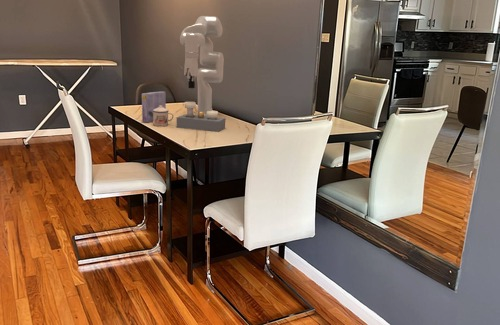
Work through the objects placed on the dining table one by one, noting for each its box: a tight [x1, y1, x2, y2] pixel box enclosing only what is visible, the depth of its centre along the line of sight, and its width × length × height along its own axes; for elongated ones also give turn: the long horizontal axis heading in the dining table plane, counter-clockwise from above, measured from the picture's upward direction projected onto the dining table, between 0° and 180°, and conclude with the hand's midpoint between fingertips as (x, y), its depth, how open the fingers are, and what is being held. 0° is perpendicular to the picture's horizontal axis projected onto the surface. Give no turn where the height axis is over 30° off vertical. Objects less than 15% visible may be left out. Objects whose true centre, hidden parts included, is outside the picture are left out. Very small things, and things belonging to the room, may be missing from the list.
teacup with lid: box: [153, 105, 174, 127], centre depth 274 cm, size 12×9×12 cm
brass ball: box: [197, 111, 204, 118], centre depth 270 cm, size 4×4×4 cm
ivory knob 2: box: [207, 110, 219, 120], centre depth 268 cm, size 6×6×9 cm
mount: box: [176, 113, 226, 133], centre depth 271 cm, size 12×26×6 cm, turn 73°
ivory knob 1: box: [184, 101, 197, 118], centre depth 271 cm, size 6×6×9 cm
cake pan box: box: [141, 91, 167, 124], centre depth 285 cm, size 19×5×18 cm, turn 152°
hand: (191, 88), depth 267 cm, fingers closed
